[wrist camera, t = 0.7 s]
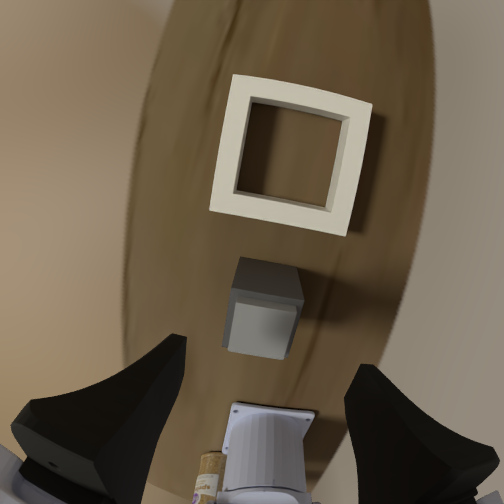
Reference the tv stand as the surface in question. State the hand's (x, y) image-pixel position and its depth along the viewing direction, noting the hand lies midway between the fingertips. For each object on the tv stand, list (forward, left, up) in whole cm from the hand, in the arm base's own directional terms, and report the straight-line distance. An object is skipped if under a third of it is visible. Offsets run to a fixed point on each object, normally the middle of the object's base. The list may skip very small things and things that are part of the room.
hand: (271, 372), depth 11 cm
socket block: (+9, 0, -10) cm, 13 cm away
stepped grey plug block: (-1, 0, -10) cm, 10 cm away
